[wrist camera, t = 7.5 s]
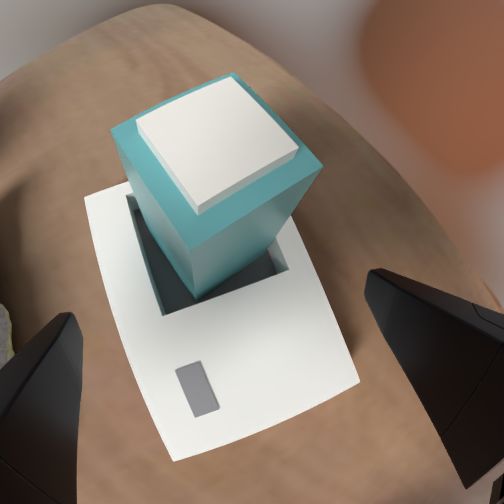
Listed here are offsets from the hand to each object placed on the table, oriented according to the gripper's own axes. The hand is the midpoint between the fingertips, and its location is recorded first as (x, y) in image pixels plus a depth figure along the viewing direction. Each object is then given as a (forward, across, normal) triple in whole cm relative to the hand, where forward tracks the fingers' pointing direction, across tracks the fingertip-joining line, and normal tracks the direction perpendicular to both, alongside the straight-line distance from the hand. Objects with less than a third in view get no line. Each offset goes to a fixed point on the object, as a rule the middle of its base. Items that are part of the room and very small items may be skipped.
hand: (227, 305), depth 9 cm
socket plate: (+7, 0, +5) cm, 9 cm away
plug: (+9, 0, +2) cm, 9 cm away
